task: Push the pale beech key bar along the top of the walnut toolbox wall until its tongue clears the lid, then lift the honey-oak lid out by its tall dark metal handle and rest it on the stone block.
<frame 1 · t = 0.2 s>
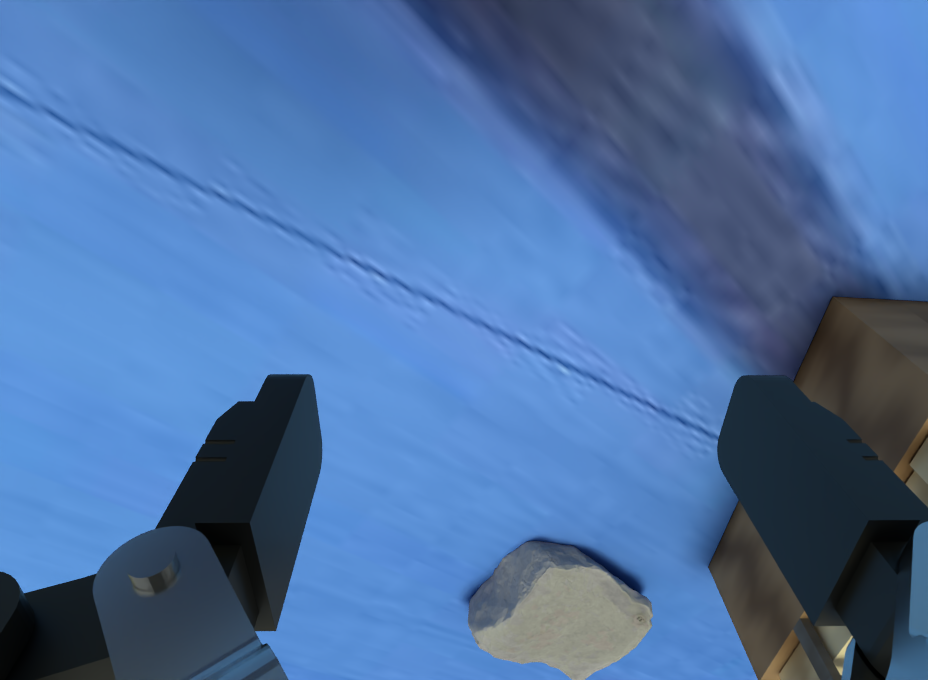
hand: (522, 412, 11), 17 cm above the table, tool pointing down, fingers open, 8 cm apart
toolbox: (899, 459, 36), on the table
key: (913, 600, 28), point 9 cm above the table, slide at 0.0 cm
stone block: (561, 584, 43), on the table
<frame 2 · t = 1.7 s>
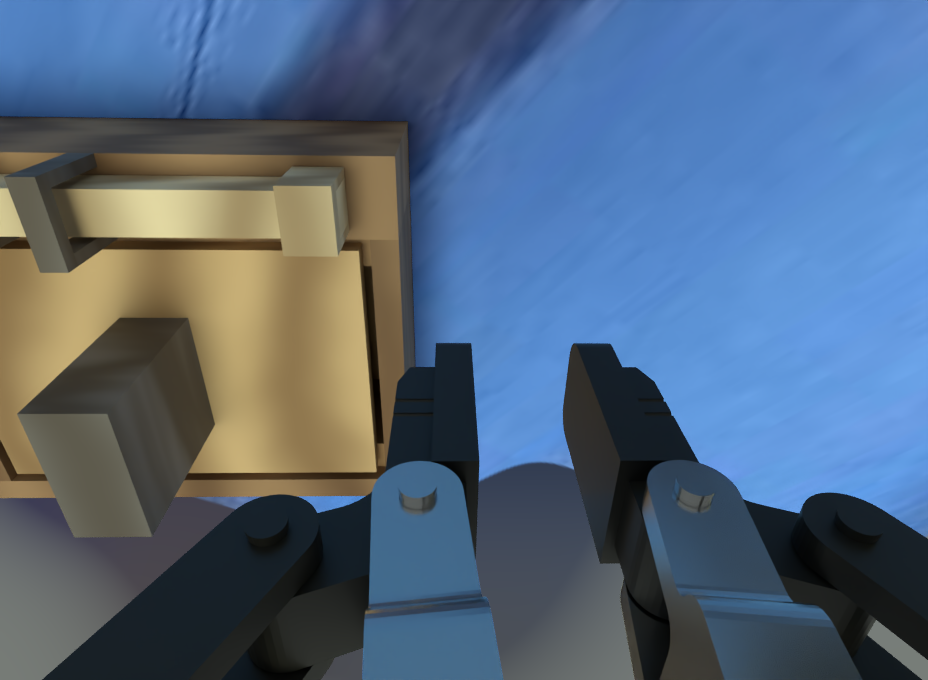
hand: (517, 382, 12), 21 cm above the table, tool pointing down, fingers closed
toolbox: (223, 282, 33), on the table
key: (99, 251, 22), point 9 cm above the table, slide at 0.0 cm
lid: (178, 362, 28), point 7 cm above the table, touching toolbox
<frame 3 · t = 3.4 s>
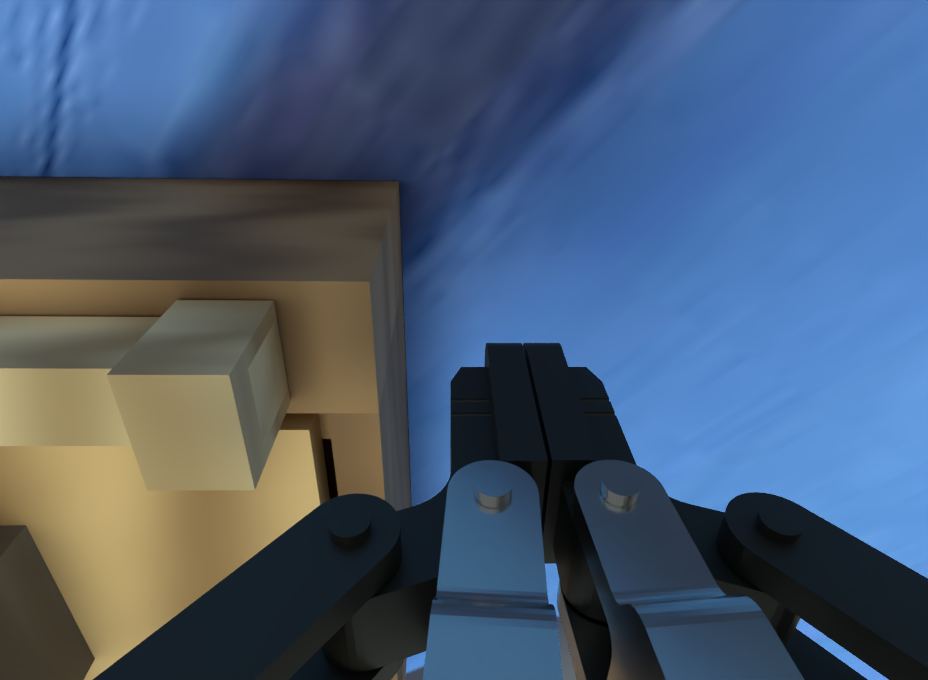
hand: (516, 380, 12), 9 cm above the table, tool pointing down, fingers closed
toolbox: (132, 403, 23), on the table
lid: (32, 569, 17), point 7 cm above the table, touching toolbox
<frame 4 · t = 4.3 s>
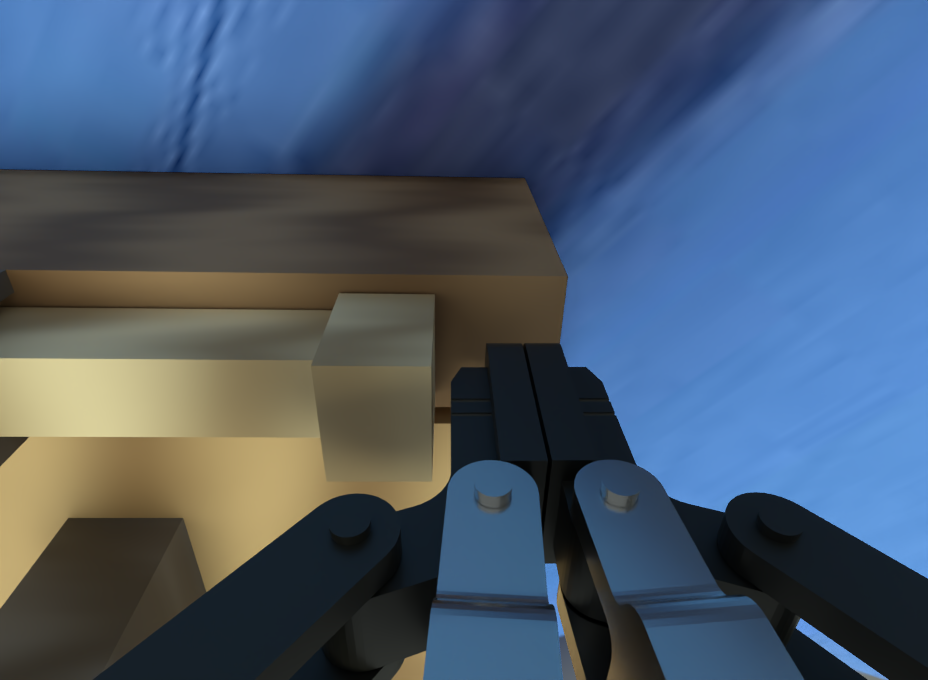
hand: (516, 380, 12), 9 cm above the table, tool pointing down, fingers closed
toolbox: (235, 398, 23), on the table
lid: (168, 562, 18), point 7 cm above the table, touching toolbox
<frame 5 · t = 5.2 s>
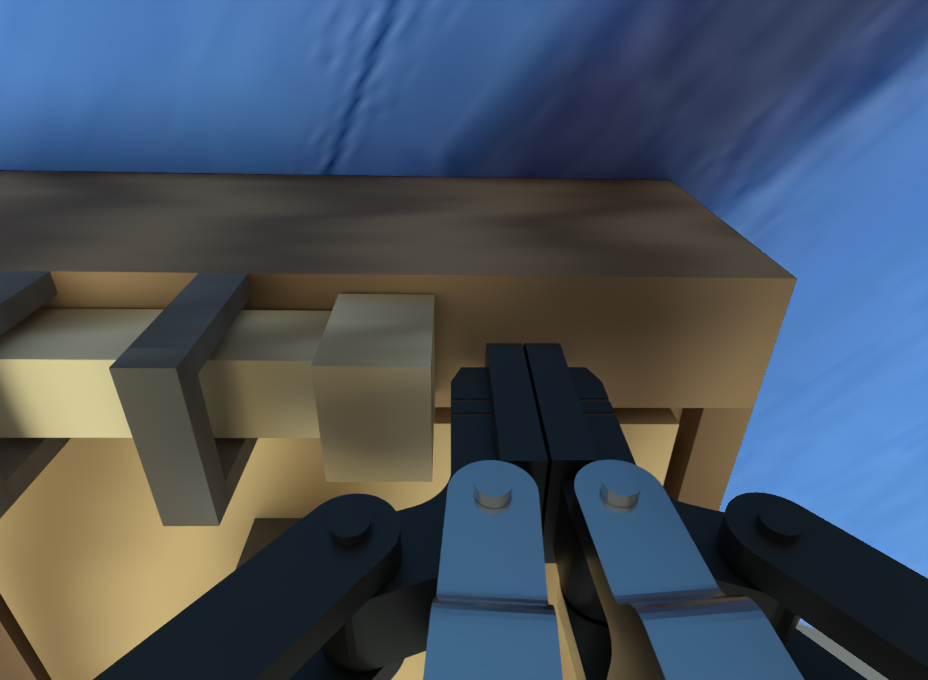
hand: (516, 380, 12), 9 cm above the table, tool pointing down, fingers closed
toolbox: (357, 399, 23), on the table
lid: (329, 561, 18), point 7 cm above the table, touching toolbox
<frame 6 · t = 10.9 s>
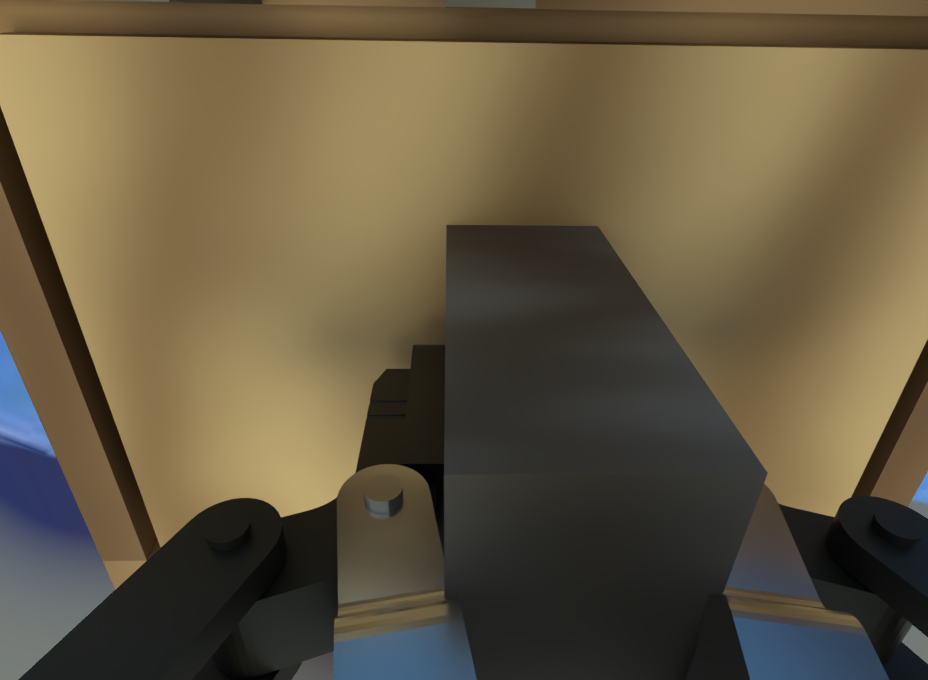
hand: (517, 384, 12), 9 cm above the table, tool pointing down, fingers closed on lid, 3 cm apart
toolbox: (491, 202, 19), on the table
lid: (509, 333, 14), point 7 cm above the table, touching gripper, toolbox
when the fingers open (8 cm above the table, at t = 16.2 s): lid drops 3 cm, point 2 cm above the table.
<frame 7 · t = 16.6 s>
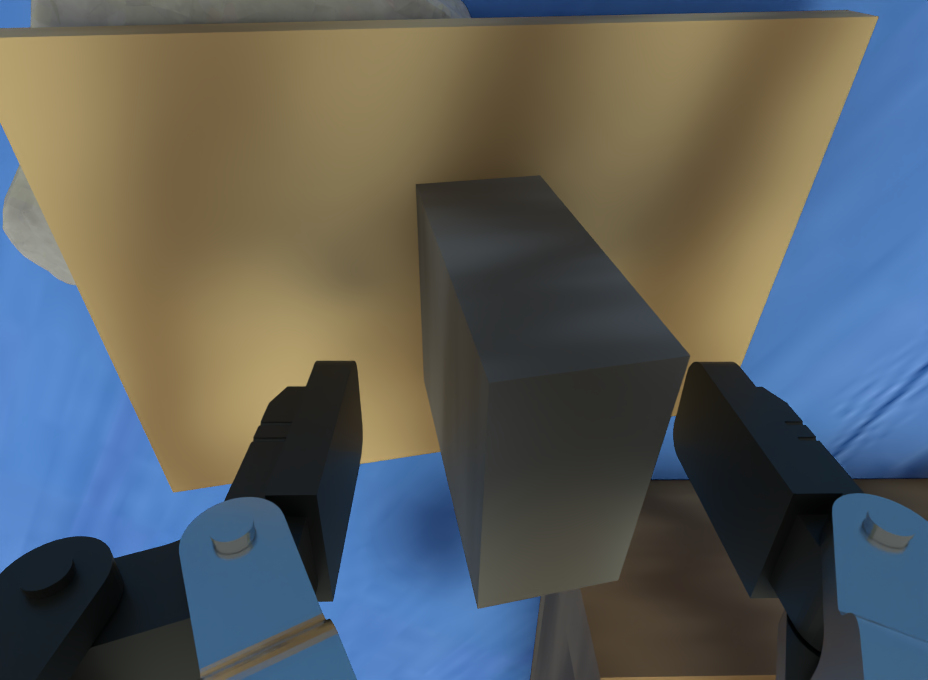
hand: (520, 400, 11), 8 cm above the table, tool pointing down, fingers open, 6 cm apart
toolbox: (759, 615, 28), on the table
lid: (468, 269, 16), point 2 cm above the table, tilted 13°
stone block: (278, 130, 17), on the table
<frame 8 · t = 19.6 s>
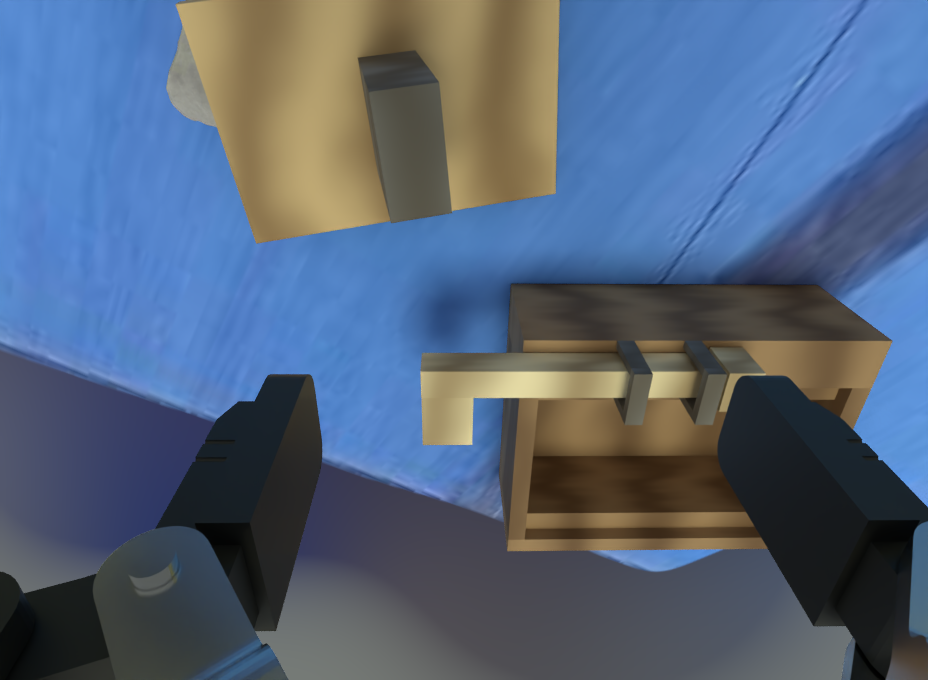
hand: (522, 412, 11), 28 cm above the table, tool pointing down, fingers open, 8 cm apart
toolbox: (643, 388, 45), on the table
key: (582, 402, 34), point 9 cm above the table, slide at 6.9 cm
lid: (393, 108, 32), point 2 cm above the table, tilted 13°, touching stone block
stone block: (294, 41, 33), on the table, touching lid
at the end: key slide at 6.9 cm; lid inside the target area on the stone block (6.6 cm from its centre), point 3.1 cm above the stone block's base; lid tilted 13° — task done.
